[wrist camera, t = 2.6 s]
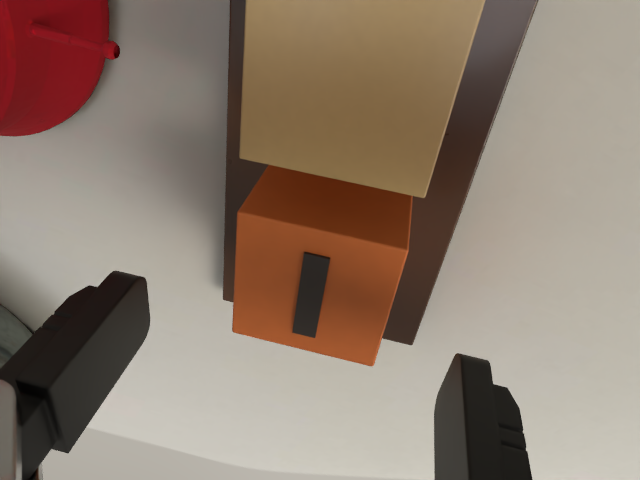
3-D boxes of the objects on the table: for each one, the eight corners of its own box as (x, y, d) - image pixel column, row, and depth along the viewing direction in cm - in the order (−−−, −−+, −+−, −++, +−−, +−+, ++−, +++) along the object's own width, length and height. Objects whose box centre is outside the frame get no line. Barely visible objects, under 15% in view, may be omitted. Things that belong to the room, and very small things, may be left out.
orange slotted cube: (277, 149, 16) (235, 213, 12) (414, 178, 15) (408, 252, 12) (267, 258, 18) (230, 335, 15) (384, 284, 18) (372, 370, 14)
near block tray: (258, -732, 8) (91, -1353, 4) (785, -700, 7) (1187, -1407, 3) (227, 291, 20) (181, 375, 17) (413, 335, 20) (408, 434, 16)
